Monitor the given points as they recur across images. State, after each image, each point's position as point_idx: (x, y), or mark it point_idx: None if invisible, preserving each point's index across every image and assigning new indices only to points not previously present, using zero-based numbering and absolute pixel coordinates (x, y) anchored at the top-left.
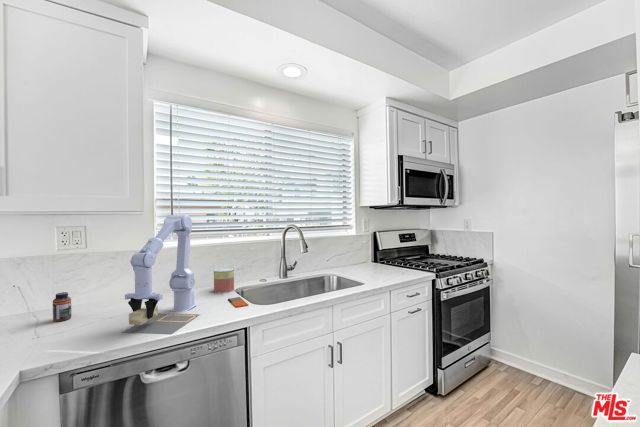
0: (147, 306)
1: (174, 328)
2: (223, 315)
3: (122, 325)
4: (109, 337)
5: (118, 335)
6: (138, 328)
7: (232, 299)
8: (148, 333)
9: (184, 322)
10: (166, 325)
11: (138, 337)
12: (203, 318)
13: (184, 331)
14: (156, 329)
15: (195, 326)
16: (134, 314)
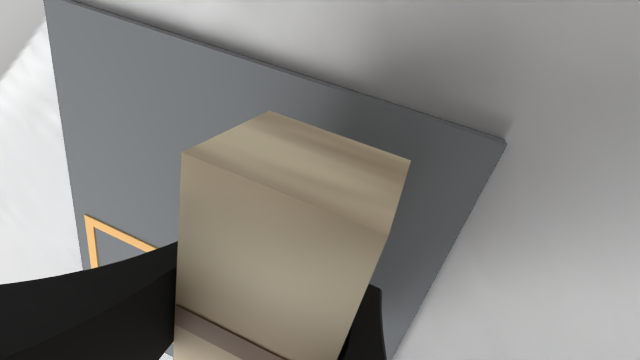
0: (74, 300)
1: (91, 119)
2: (4, 266)
3: (562, 355)
4: (627, 61)
5: (524, 104)
6: None
7: None
8: (220, 51)
9: (97, 217)
10: (174, 198)
11: (289, 4)
12: (63, 262)
13: (33, 75)
14: (201, 133)
15: (28, 149)
16: (279, 187)
